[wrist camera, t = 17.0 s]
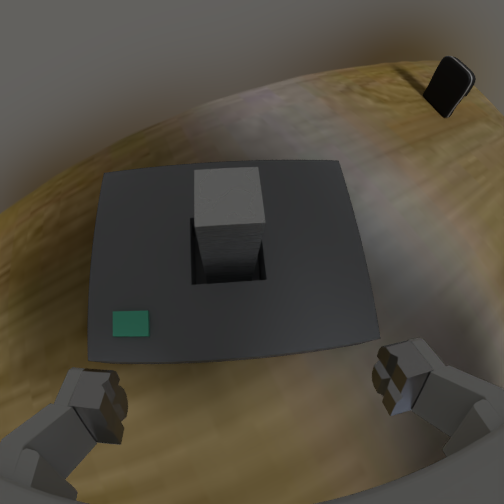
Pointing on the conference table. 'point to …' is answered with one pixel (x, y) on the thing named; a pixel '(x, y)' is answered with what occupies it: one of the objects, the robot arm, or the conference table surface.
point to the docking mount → (232, 293)
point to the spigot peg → (228, 222)
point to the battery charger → (449, 85)
